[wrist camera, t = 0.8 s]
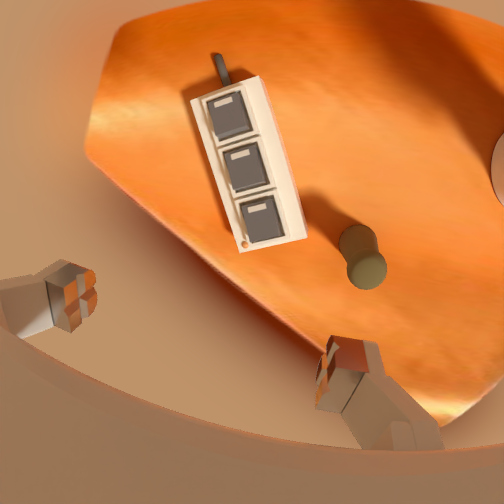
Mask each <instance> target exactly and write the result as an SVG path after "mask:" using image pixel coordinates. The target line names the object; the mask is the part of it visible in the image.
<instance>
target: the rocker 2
mask: <svg viewBox="0 0 504 504" xmlns="http://www.w3.org/2000/svg"><path fill="white" fill-rule="evenodd" d="M225 158H226V163H227V167H228V171H229V175H230V179H231V184H232V188H233V190H236V191H237V190H241V189H245V188H248V187H252V186H255V185H259V184H263V183H266V180H265V176H264V172H263V168H262V164H261V160H260V156H259V152H258V149H257V147H256V146H255V145H252V146H249V147H246V148H242V149H239V150H236V151H233V152H230V153H227V154H225Z"/></svg>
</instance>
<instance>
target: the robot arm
mask: <svg viewBox="0 0 504 504" xmlns="http://www.w3.org/2000/svg"><path fill="white" fill-rule="evenodd" d="M491 176H492V183H493V187H494V190H495V193H496V195H497V197H498V199H499V201H500V202H501V204H502V205H503V206H504V133H503V135H502V136H501V137H500V139H499V140H498V142H497V144H496V146H495V149H494V152H493V156H492V162H491ZM95 283H96V277H95V273H94V272H93V271H92V270H90V269H87V268H85V267H82V266H79V265H77V264H74V263H71V262H69V261H66V260H58V261H56V262H55V263H53V264H51V265H50V266H48V267H46V268H45V269H43V270H42V271H40V272H38V273H37V274H35V275H34V276H33V275H26V276H20V277H15V278H9V279H4V280H0V504H504V443H501V444H495V445H488V446H480V447H472V448H463V449H462V448H461V449H449V450H445V448H444V445H443V441H442V437H441V434H440V430H439V427H438V423H437V421H436V420H435V419H434V418H433V417H432V416H431V415H430V414H429V413H428V412H426V411H425V410H424V409H423V408H422V407H421V406H420V405H419V404H418V403H417V402H416V401H415V400H414V399H413V398H412V397H411V396H410V395H409V394H408V393H407V392H406V391H405V390H404V389H403V388H402V387H401V386H400V385H399V384H398V383H396V382H395V381H394V380H393V379H392V378H391V377H390V376H386V374H385V370H384V366H383V362H382V359H381V355H380V351H379V348H378V344H377V343H376V342H372V341H366V340H357V339H352V338H346V337H340V336H335V335H331V336H330V338H329V339H328V342H327V344H326V353H325V354H324V355H322V356H321V359H320V362H319V365H318V369H317V372H316V384H317V386H318V389H317V391H316V393H315V409H318V410H323V411H329V412H334V413H340V414H341V416H342V418H343V419H344V421H345V422H346V424H347V425H348V427H349V429H350V430H351V432H352V434H353V435H354V437H355V438H356V440H357V442H358V443H359V445H360V446H361V448H362V449H352V448H341V447H331V446H323V445H316V444H309V443H302V442H296V441H290V440H284V439H278V438H273V437H268V436H263V435H259V434H254V433H249V432H245V431H241V430H237V429H233V428H229V427H225V426H221V425H218V424H214V423H211V422H207V421H204V420H200V419H197V418H194V417H191V416H188V415H185V414H182V413H179V412H176V411H173V410H170V409H167V408H164V407H161V406H158V405H156V404H153V403H150V402H148V401H145V400H143V399H140V398H137V397H135V396H132V395H130V394H127V393H125V392H123V391H120V390H118V389H116V388H113V387H111V386H109V385H107V384H104V383H102V382H100V381H98V380H96V379H94V378H92V377H90V376H87V375H85V374H83V373H81V372H79V371H77V370H75V369H73V368H71V367H70V366H67V365H66V364H64V363H62V362H60V361H58V360H56V359H54V358H53V357H51V356H49V355H47V354H46V353H44V352H42V351H40V350H39V349H37V348H35V347H34V346H32V345H30V344H29V343H27V342H26V341H24V340H22V339H23V338H26V337H28V336H31V335H33V334H36V333H39V332H41V331H44V330H46V329H48V328H51V327H53V326H56V327H58V328H61V329H63V330H65V331H67V332H70V333H72V332H73V331H74V330H75V329H76V328H77V327H78V326H79V325H80V324H81V323H82V318H86V317H89V316H90V315H91V314H92V313H93V312H94V310H95V307H96V305H97V293H96V291H95V289H94V287H93V286H94V284H95Z"/></svg>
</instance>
